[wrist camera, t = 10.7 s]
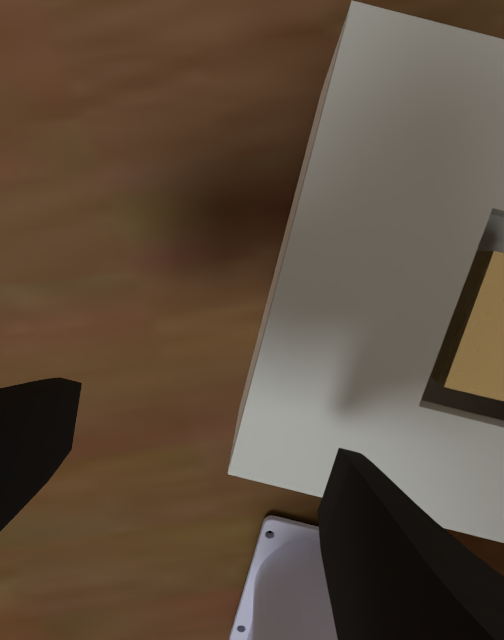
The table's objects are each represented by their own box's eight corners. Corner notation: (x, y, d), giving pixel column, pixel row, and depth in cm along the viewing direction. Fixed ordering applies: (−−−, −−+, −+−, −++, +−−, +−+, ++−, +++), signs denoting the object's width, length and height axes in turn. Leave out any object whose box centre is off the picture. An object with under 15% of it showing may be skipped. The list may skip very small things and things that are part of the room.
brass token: (441, 359, 18) (508, 402, 13) (395, 348, 18) (444, 386, 13) (476, 262, 17) (563, 267, 12) (427, 250, 17) (494, 250, 12)
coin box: (520, 476, 19) (630, 574, 13) (240, 405, 19) (227, 473, 13) (657, 177, 16) (881, 135, 10) (321, 91, 16) (352, 0, 10)
